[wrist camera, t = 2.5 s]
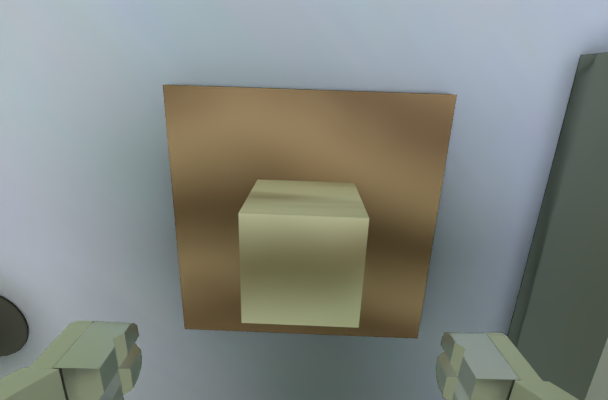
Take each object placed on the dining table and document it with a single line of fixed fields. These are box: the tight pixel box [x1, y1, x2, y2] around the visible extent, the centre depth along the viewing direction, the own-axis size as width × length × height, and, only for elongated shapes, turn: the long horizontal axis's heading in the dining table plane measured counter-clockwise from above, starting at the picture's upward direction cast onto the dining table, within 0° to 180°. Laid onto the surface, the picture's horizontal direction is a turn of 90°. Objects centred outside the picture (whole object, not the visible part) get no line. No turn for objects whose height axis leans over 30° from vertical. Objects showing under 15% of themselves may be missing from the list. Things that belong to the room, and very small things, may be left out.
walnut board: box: [163, 85, 457, 338], centre depth 19 cm, size 14×14×1 cm
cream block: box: [238, 179, 369, 328], centre depth 17 cm, size 5×5×5 cm
